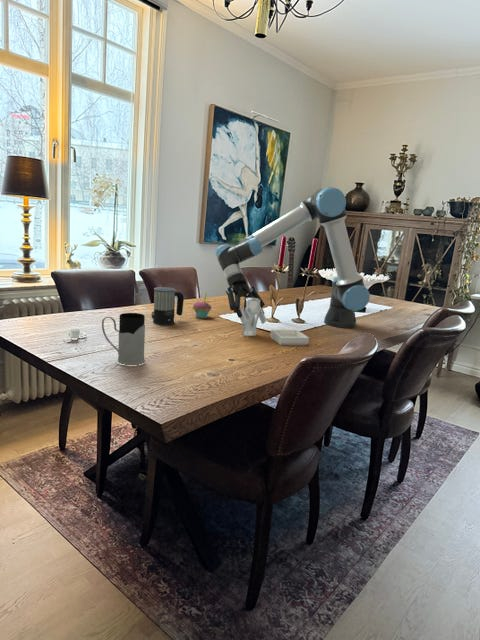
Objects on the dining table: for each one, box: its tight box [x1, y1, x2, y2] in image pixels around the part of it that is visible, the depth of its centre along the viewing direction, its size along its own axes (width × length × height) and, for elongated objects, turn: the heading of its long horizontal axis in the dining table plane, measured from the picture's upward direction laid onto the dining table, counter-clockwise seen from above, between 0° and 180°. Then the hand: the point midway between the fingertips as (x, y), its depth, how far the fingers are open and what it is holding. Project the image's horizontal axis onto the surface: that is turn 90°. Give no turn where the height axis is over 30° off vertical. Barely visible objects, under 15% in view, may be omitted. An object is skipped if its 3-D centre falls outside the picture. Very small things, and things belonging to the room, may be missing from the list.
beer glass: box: [241, 297, 260, 338], centre depth 177 cm, size 7×7×15 cm
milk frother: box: [150, 286, 185, 326], centre depth 189 cm, size 14×16×15 cm
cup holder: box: [269, 329, 310, 346], centre depth 174 cm, size 12×12×3 cm
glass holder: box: [101, 312, 146, 365], centre depth 135 cm, size 9×14×15 cm, turn 80°
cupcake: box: [192, 292, 212, 319], centre depth 201 cm, size 9×8×12 cm
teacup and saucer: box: [68, 328, 87, 340], centre depth 153 cm, size 9×8×4 cm
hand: (255, 322), depth 175 cm, fingers open, 9 cm apart
